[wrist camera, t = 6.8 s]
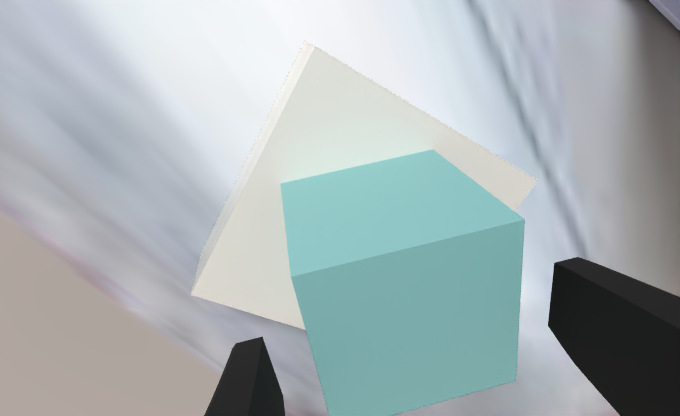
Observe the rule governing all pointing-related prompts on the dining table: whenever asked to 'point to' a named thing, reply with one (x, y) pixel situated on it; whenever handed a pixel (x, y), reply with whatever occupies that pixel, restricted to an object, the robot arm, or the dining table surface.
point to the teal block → (404, 283)
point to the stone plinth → (319, 158)
